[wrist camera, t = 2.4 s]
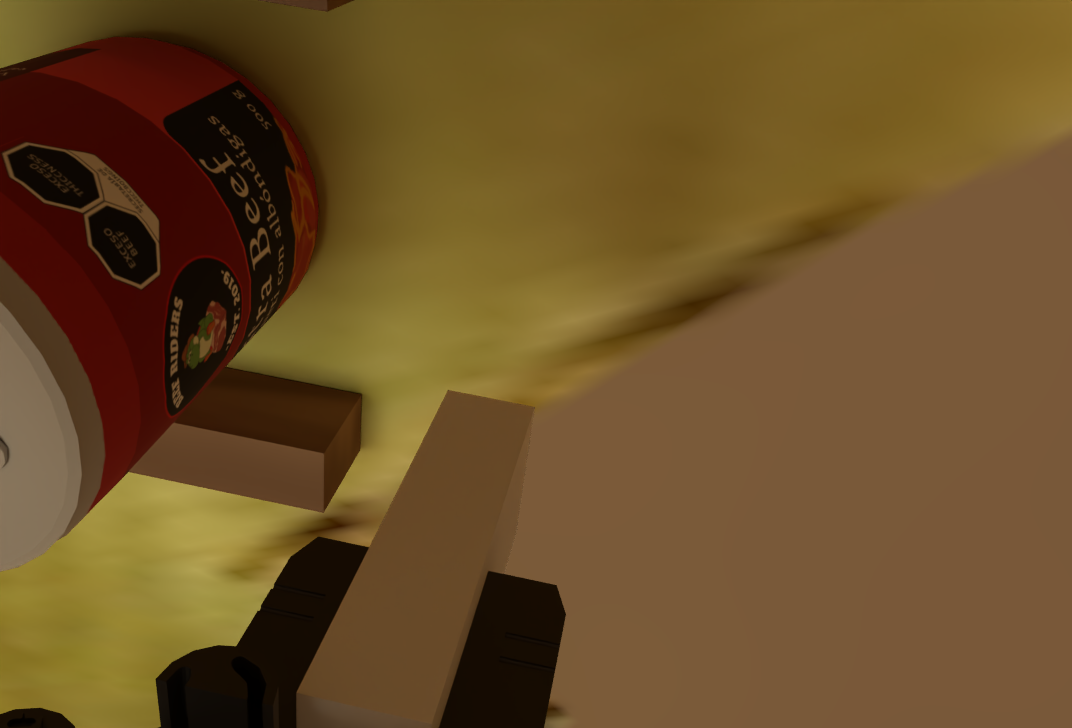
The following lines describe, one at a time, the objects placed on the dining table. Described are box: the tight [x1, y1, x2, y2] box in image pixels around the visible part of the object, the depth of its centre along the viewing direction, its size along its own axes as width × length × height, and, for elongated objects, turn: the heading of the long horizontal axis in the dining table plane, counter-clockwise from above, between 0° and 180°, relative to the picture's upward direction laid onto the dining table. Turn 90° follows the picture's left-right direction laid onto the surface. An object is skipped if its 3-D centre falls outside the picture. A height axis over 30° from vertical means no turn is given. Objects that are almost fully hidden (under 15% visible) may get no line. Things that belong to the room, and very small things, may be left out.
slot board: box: [129, 0, 362, 513], centre depth 23 cm, size 15×14×3 cm
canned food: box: [0, 37, 319, 571], centre depth 19 cm, size 8×8×11 cm
